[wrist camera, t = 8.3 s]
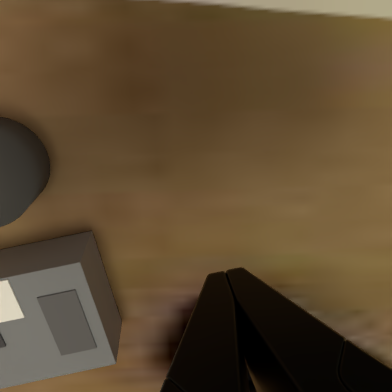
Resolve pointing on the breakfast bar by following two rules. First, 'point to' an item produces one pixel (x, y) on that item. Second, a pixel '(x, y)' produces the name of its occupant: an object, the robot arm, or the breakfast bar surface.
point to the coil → (20, 169)
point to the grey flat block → (55, 310)
